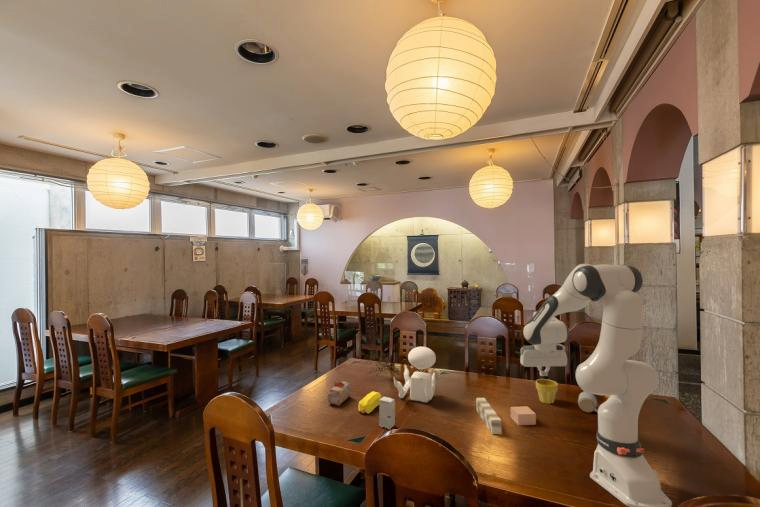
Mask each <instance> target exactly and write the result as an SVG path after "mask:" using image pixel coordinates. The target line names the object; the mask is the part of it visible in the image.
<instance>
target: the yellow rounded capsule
mask: <svg viewBox="0 0 760 507" xmlns="http://www.w3.org/2000/svg"><path fill="white" fill-rule="evenodd" d="M382 397H383V396H382V394H381V393H380V392H379V391H378V392H376V391H374V390H373V391H370V392H369V393H367V394H366V395H365V396H364V397H363V398H362V399H361V400H360V401H358V411H359V413H361V414H365V413H366V414H370V413H371V412H373V411H374V410H375V408H377V407H378V406H379V400H380V399H381V398H382Z"/></svg>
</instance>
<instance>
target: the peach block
mask: <svg viewBox="0 0 760 507" xmlns="http://www.w3.org/2000/svg"><path fill="white" fill-rule="evenodd" d="M510 418H511V419H512V420H513V421H514V423H515V424H516V425H518V426H531V425H533V426H534V425H537V419H536V418H537V415H536V413H535V411H533V410H532V409H531V408H530V407H529V406H510Z"/></svg>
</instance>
